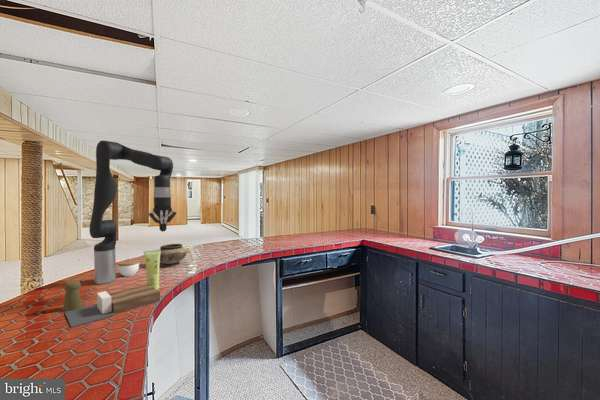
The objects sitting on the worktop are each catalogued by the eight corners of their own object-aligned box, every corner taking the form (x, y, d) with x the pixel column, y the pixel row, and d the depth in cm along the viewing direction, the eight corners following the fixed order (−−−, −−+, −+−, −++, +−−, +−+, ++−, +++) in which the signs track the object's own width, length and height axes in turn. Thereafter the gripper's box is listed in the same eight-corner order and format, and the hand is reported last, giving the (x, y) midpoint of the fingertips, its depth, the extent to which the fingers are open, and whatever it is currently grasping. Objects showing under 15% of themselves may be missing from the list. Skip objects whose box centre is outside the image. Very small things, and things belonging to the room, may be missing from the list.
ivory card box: (106, 305, 111) (97, 307, 109) (105, 291, 111) (96, 293, 109) (111, 311, 105) (102, 314, 103) (111, 296, 105) (102, 298, 103)
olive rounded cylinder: (67, 306, 111) (66, 280, 111) (84, 303, 113) (84, 278, 113) (60, 312, 105) (59, 285, 105) (78, 309, 107) (78, 283, 107)
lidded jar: (113, 275, 151) (113, 259, 151) (132, 271, 161) (132, 255, 161) (124, 278, 146) (124, 262, 146) (143, 273, 156) (143, 257, 156)
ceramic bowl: (194, 265, 182) (196, 244, 185) (182, 266, 165) (185, 242, 168) (159, 265, 182) (161, 244, 186) (144, 266, 165) (147, 242, 168)
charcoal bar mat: (64, 313, 104) (64, 312, 104) (104, 303, 114) (104, 302, 114) (71, 327, 93) (71, 326, 93) (115, 315, 103) (115, 314, 103)
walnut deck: (105, 304, 113) (105, 294, 113) (148, 292, 126) (148, 284, 125) (114, 314, 104) (113, 304, 103) (160, 300, 116) (159, 292, 116)
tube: (150, 292, 126) (149, 252, 126) (144, 290, 129) (143, 250, 128) (161, 288, 131) (160, 249, 131) (155, 286, 134) (154, 248, 133)
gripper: (173, 196, 138) (173, 229, 138) (145, 196, 128) (145, 231, 129) (179, 196, 133) (179, 230, 133) (150, 196, 123) (150, 233, 123)
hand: (162, 231), depth 131 cm, fingers closed
